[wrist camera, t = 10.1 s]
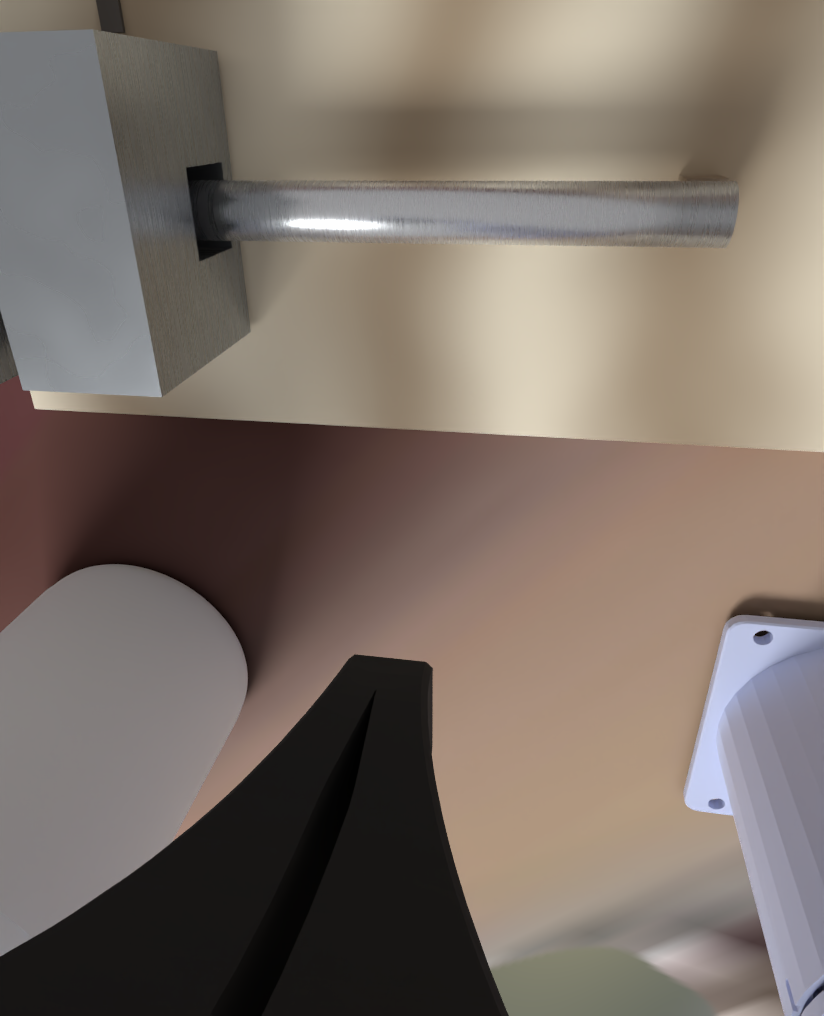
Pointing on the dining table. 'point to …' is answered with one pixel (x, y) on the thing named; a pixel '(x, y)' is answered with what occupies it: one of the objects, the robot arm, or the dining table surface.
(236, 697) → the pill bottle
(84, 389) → the grey block with hole
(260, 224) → the bolt board
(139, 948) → the robot arm
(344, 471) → the dining table surface
